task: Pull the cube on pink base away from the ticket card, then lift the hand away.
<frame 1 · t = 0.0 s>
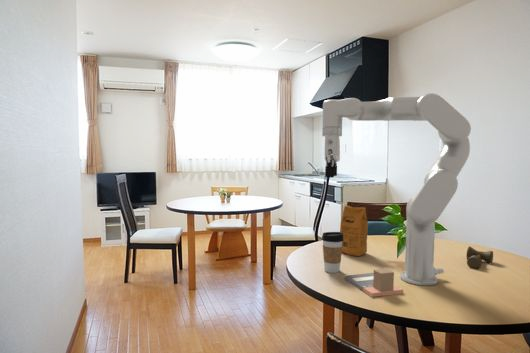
hand: (331, 176, 138), 37 cm above the table, tool pointing down, fingers open, 9 cm apart
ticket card: (371, 285, 124), on the table
kendama: (477, 264, 151), on the table
coffee package: (352, 253, 165), on the table
coffee cup: (332, 270, 140), on the table
cube on pink base: (383, 281, 118), point 4 cm above the table, slide at 0.0 cm
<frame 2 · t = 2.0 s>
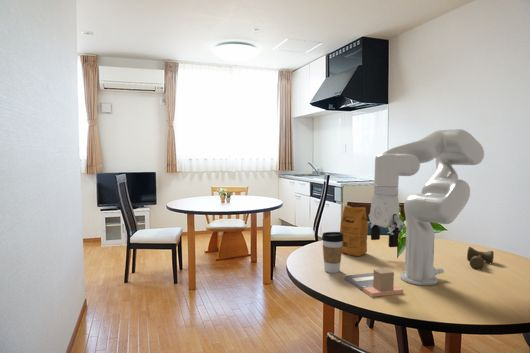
hand: (383, 243, 117), 17 cm above the table, tool pointing down, fingers open, 9 cm apart
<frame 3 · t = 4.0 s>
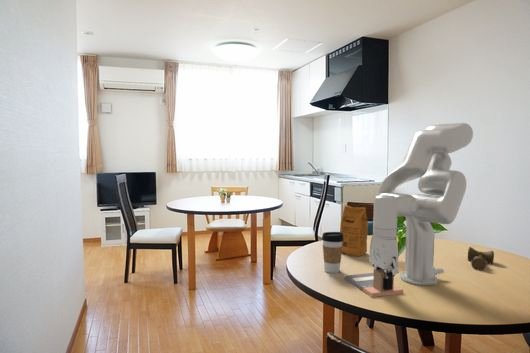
hand: (383, 286, 118), 2 cm above the table, tool pointing down, fingers closed on cube on pink base, 4 cm apart
cube on pink base: (383, 281, 118), point 4 cm above the table, slide at 0.0 cm, touching gripper
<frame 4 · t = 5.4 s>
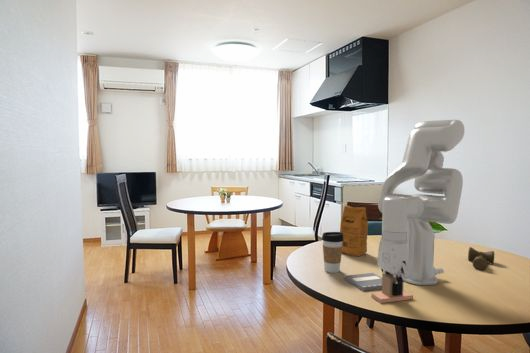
hand: (392, 291, 113), 2 cm above the table, tool pointing down, fingers closed on cube on pink base, 4 cm apart
cube on pink base: (392, 286, 113), point 4 cm above the table, slide at 4.8 cm, touching gripper
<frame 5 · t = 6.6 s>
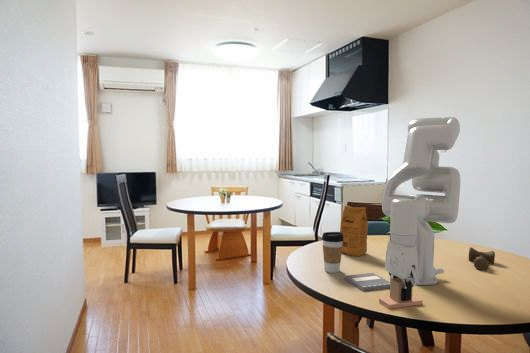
hand: (400, 296, 109), 2 cm above the table, tool pointing down, fingers closed on cube on pink base, 4 cm apart
cube on pink base: (400, 291, 109), point 4 cm above the table, slide at 9.0 cm, touching gripper
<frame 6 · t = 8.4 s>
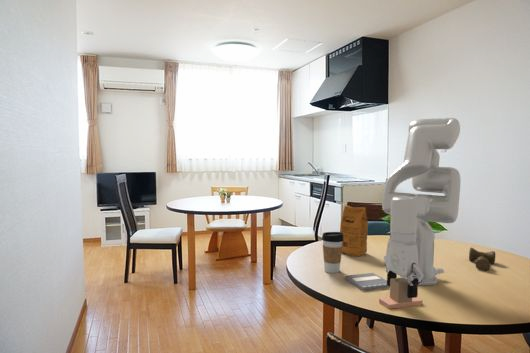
hand: (401, 291, 109), 4 cm above the table, tool pointing down, fingers open, 9 cm apart
cube on pink base: (401, 291, 109), point 4 cm above the table, slide at 9.0 cm
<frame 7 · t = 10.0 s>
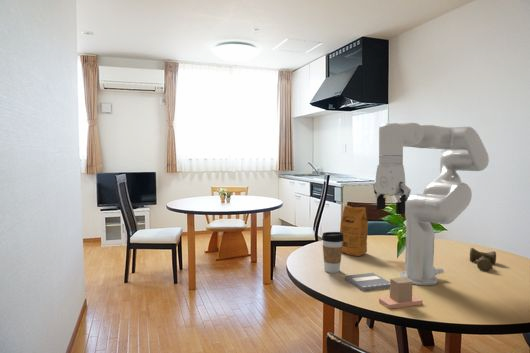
hand: (390, 211, 119), 27 cm above the table, tool pointing down, fingers open, 9 cm apart
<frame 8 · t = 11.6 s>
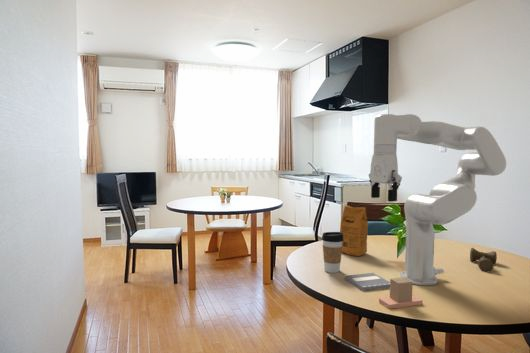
hand: (383, 199, 124), 30 cm above the table, tool pointing down, fingers open, 9 cm apart
at the end: cube on pink base slide at 9.0 cm; the gripper is holding nothing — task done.
